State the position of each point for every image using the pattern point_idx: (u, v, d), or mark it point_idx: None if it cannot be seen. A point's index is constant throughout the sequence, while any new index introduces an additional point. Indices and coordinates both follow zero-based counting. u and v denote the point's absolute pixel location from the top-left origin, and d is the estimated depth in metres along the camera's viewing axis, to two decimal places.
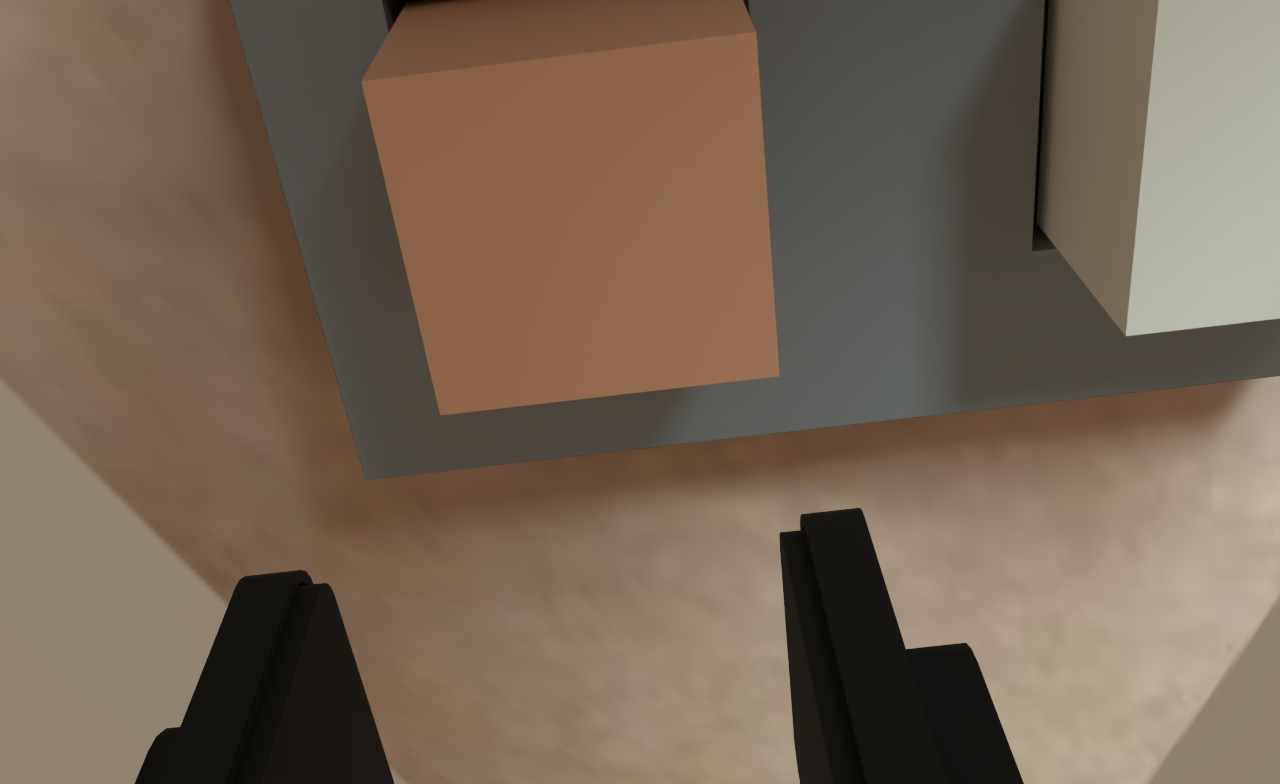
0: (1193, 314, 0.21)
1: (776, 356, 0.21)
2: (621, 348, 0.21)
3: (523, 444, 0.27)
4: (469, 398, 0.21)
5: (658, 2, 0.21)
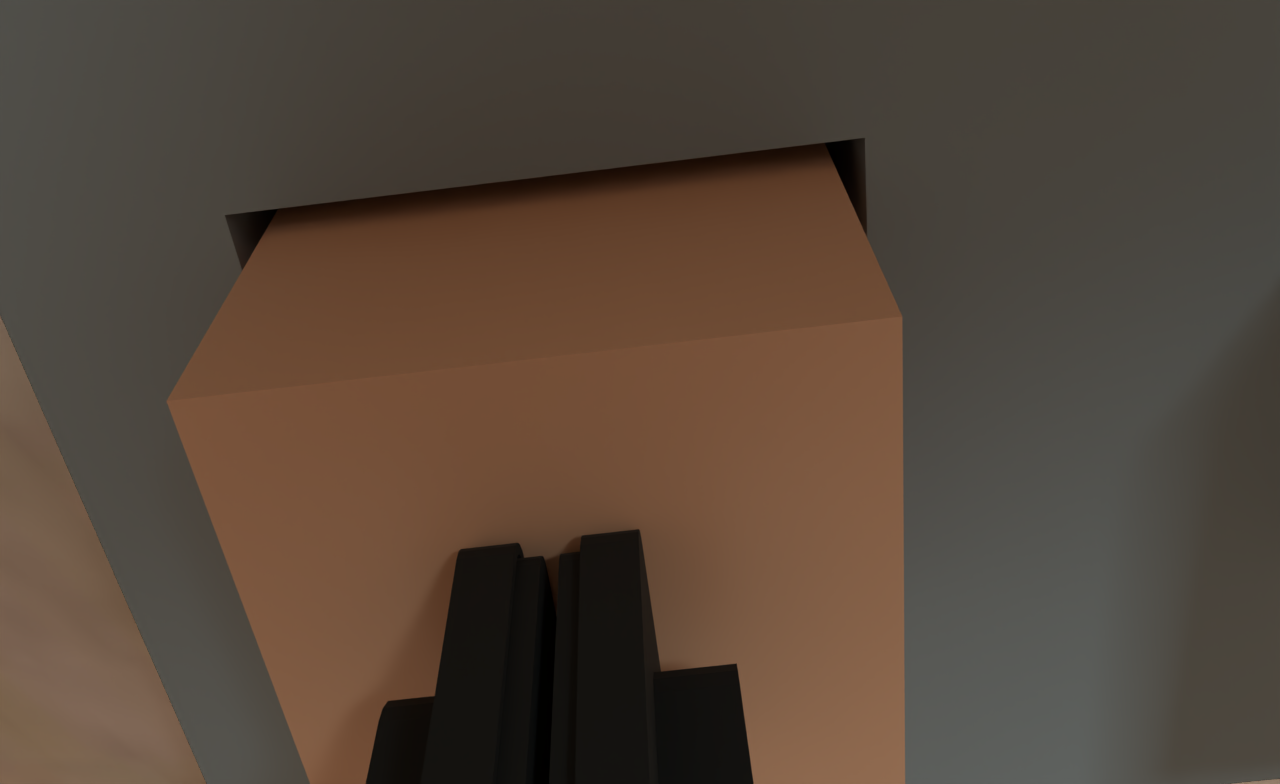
0: None
1: None
2: None
3: None
4: None
5: (707, 210, 0.12)
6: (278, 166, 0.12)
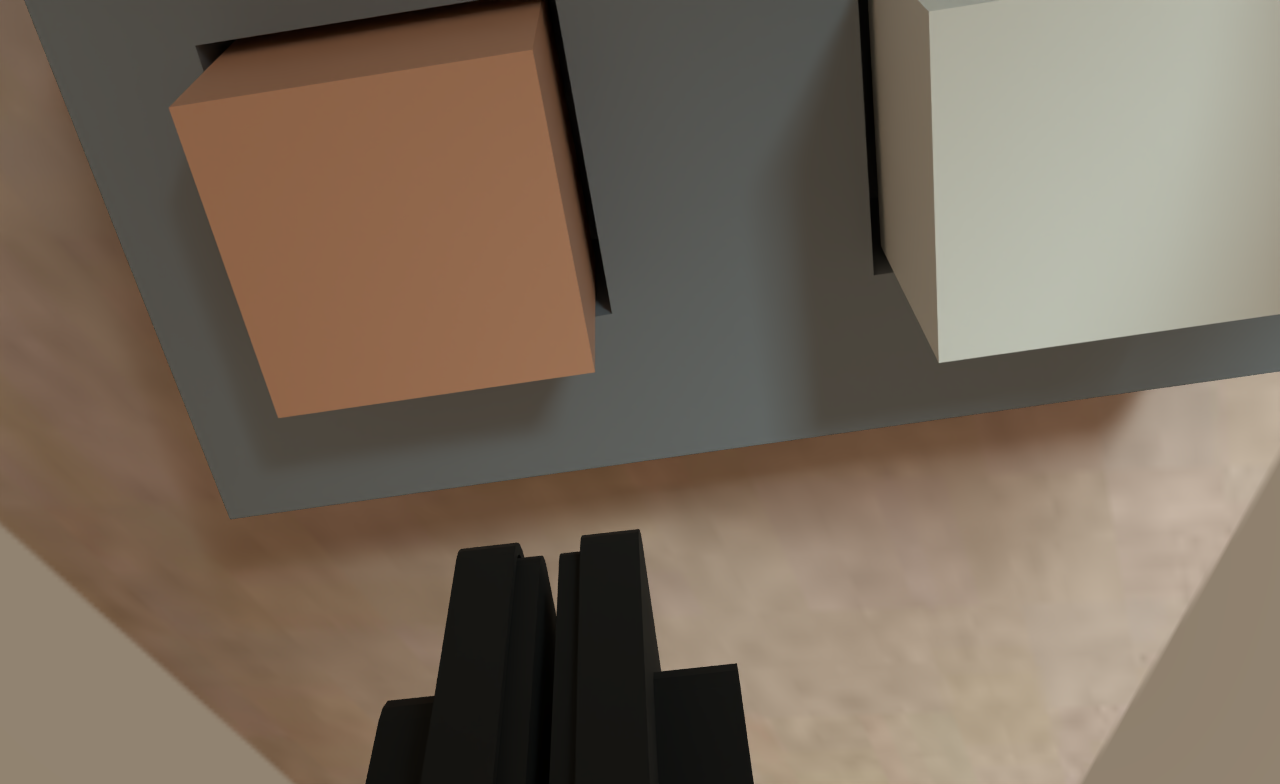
0: (1004, 339, 0.21)
1: (589, 353, 0.22)
2: (442, 350, 0.22)
3: (384, 480, 0.27)
4: (303, 401, 0.23)
5: (463, 23, 0.22)
6: (223, 15, 0.22)
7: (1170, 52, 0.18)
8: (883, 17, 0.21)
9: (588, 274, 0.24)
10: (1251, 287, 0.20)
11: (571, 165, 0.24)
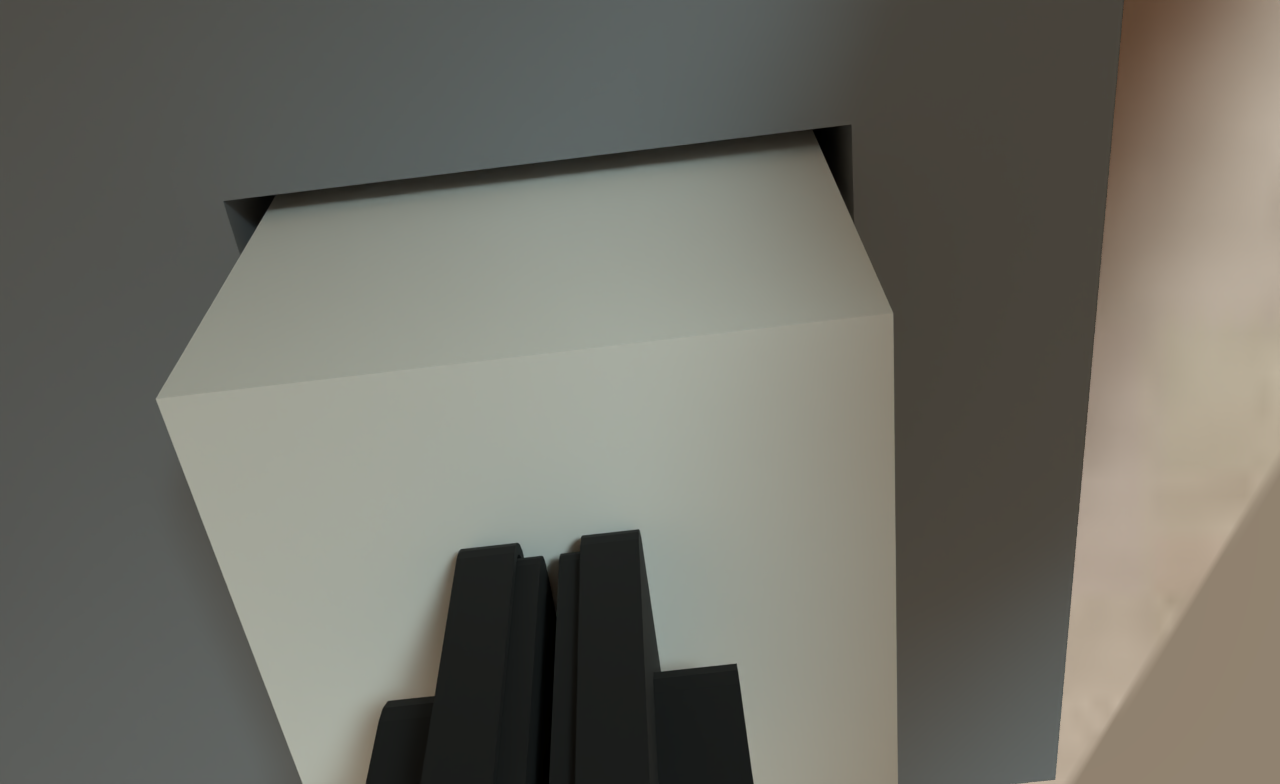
0: None
1: None
2: None
3: None
4: None
5: None
6: None
7: (614, 468, 0.10)
8: None
9: None
10: None
11: None
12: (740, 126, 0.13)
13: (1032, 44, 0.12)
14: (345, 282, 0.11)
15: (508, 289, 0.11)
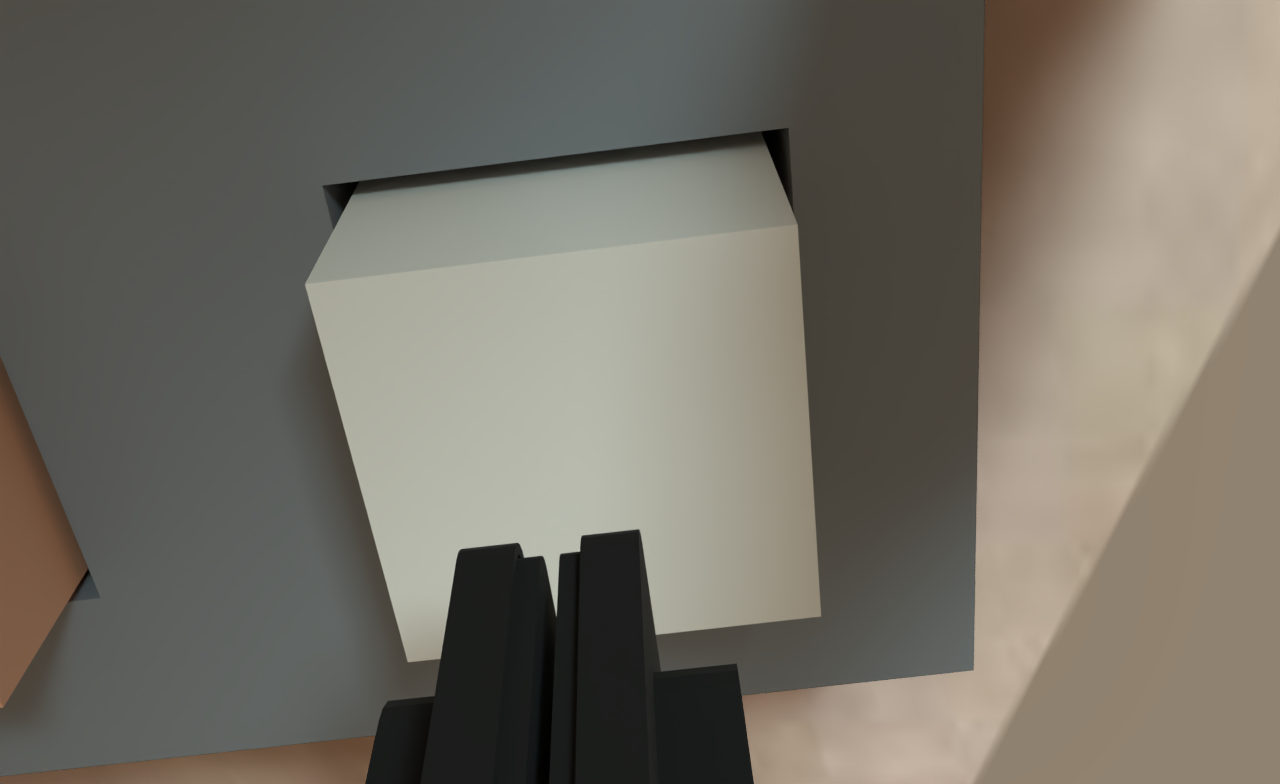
0: None
1: None
2: None
3: None
4: None
5: None
6: None
7: (612, 336, 0.15)
8: None
9: (51, 559, 0.20)
10: (766, 589, 0.17)
11: (27, 427, 0.19)
12: (706, 129, 0.17)
13: (919, 68, 0.17)
14: (425, 218, 0.16)
15: (539, 219, 0.16)
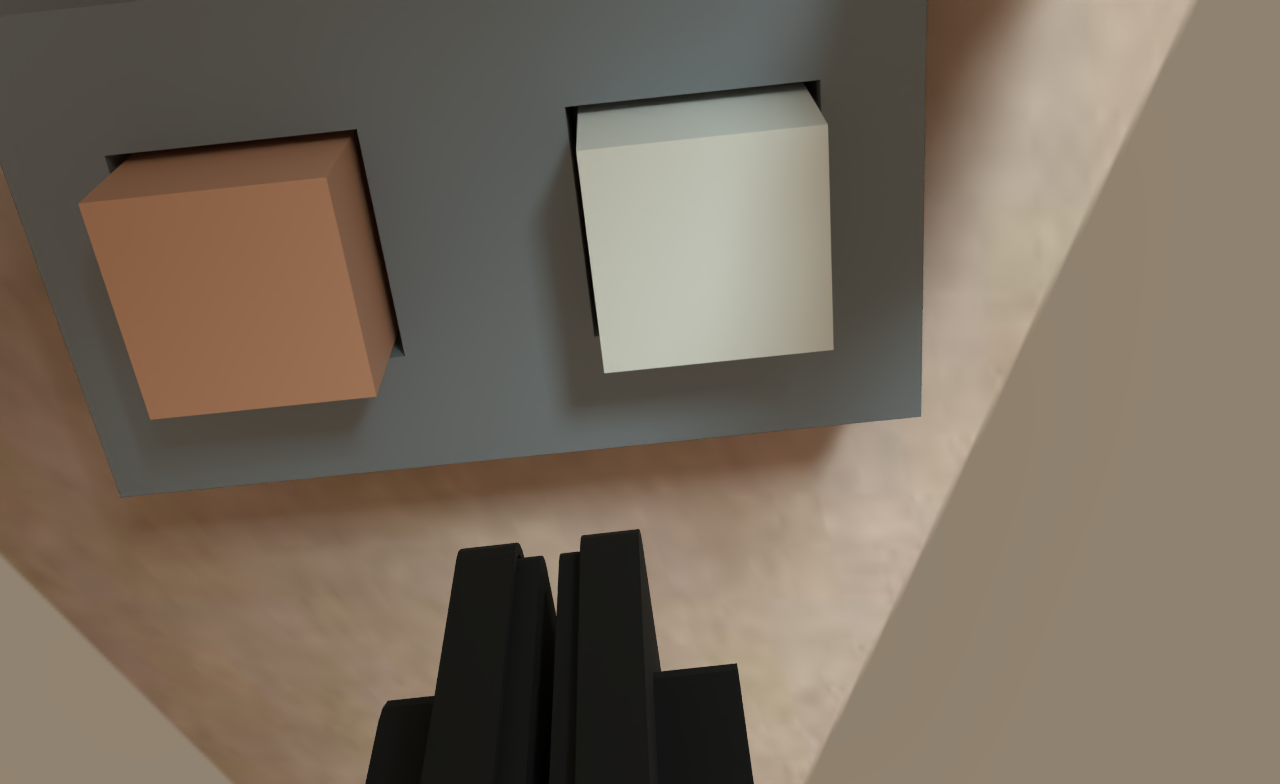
0: (646, 359, 0.32)
1: (371, 383, 0.32)
2: (267, 376, 0.32)
3: (237, 472, 0.36)
4: (169, 408, 0.32)
5: (292, 150, 0.31)
6: (125, 136, 0.31)
7: (730, 182, 0.30)
8: None
9: (384, 327, 0.34)
10: (804, 332, 0.32)
11: (374, 249, 0.34)
12: (776, 79, 0.31)
13: (891, 48, 0.31)
14: (626, 123, 0.31)
15: (690, 123, 0.30)
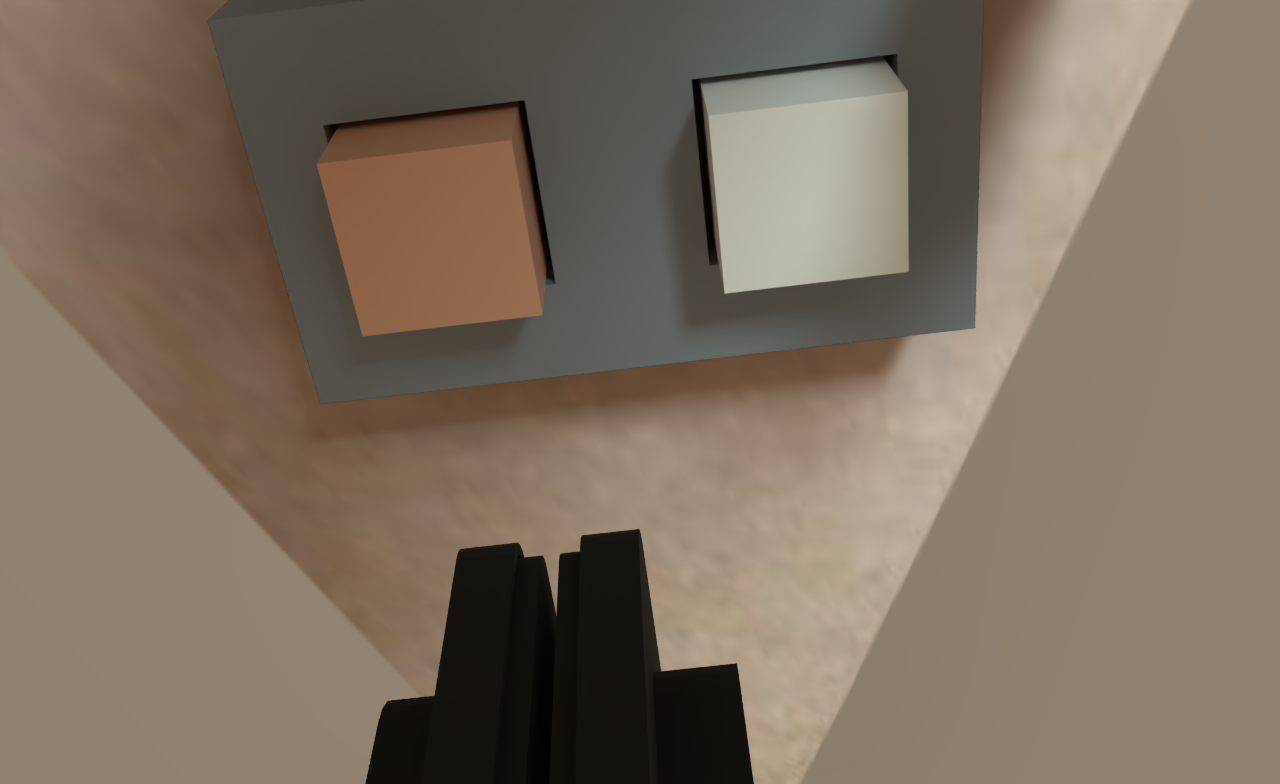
0: (758, 281, 0.40)
1: (539, 304, 0.40)
2: (456, 299, 0.40)
3: (415, 382, 0.45)
4: (377, 327, 0.40)
5: (474, 118, 0.39)
6: (340, 109, 0.39)
7: (829, 139, 0.37)
8: (702, 109, 0.40)
9: (541, 260, 0.42)
10: (885, 257, 0.39)
11: (533, 196, 0.42)
12: (861, 54, 0.39)
13: (955, 27, 0.39)
14: (743, 92, 0.38)
15: (796, 91, 0.38)
